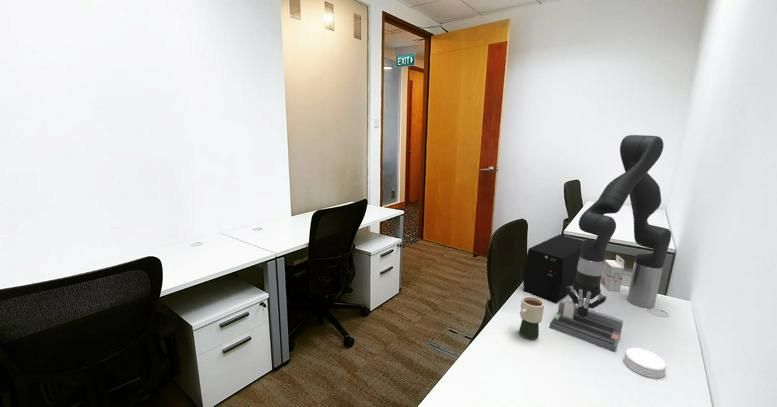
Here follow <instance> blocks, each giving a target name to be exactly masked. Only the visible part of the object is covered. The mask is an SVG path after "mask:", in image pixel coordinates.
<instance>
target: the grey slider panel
mask: <svg viewBox="0 0 777 407" xmlns="http://www.w3.org/2000/svg"><path fill="white" fill-rule="evenodd" d="M565 302H566V300H565V301H564V300H561V301H559V302H558V309H557V312H556V314H555V315H554V316H553V318H552V319H551V321H550V322H549V328H550V329H552V330H555V331H557V332H559V333H563V334H566V335H568V336H571V337H573V338H577V339H579V340H582V341H584V342H587V343H588V344H589V343H590V344H592V345H595V346H598V347H600V348H603V349H606V350H609V351H610V352H614V353H615V352H616V350H617V348H618V347H617V346H618V344H619V341H620V339H621V335H622V328H623V323H624V319H620V318H618V317H616V316H615V317H613V316H611V315H608V314H606V313H601V312H599V311H596V310H593V309H591V308H588V314H587V316H586V317H585V316H584V318H583V317H580V316H579V314H578V307H579V306H578V304H576V307H575V313H574V319H570V318H567V317H564V316H563V312H564V305H565Z"/></svg>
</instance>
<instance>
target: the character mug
mask: <svg viewBox="0 0 777 407" xmlns="http://www.w3.org/2000/svg"><path fill="white" fill-rule="evenodd" d="M544 309H545V302H544V301H543V300H542V299H541V298H539V297H537V296H531V295H530V296H528V295H526V296H522V298H521V303H520V311H519V315H520V319H521V322H520V326H519V329H518V333H519V334H520V335H521V336H522V337H524V338H527V339H531V340H536V339H538V338H539V334H540V333H539V332H540V328H539V324H540V323H541V322H543V316H544Z"/></svg>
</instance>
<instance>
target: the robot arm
mask: <svg viewBox="0 0 777 407" xmlns="http://www.w3.org/2000/svg"><path fill="white" fill-rule="evenodd" d="M619 146H620V147H619V153H620V155H619V156H620V159H621V162H622V166H623V169H624V173H622V174H620V175H619V176H617V177H615V178H614V179H612V180H611V181H610V182H609V183H608V184H607V185H606V186H605V188H604V189H603V191H602V193H600V196H599V197H598V199H597V200H596V201H595V202H594V203H593V204H592V205H591V206H590V207H588V208H587V209H586V210H585V211H584V212H583V213H582V214H581V216H580V217H579V220H578V227H579V229H580V230H581V231H583V233H587V234H591V235H595V236H596V239H585V240H583V242H582V245H581V251H580V257H579V260H578V265H577V271H576V278H575V282H574V283H573V285H571V286H567V287H566V291H567V293H568V296H569V297H570V300H571V301H573V303H575V304H576V305H577V306H579V307H578V314H579V316H580V317H583V318H584V316H585V317H586V316H587V314H588V309H590V310H593V309H596V307H599V306H600V305H602V304H604V303H605V302H606V301H607V298H608V297H607V295H604V294H603V293H602V290H601V284H602V283H601V280H602V275H603V269H604V261H605V255H606V249H607V247H608V245H609V243H610V241H611V239H612V238H613V235H614V234H615V232H616V229H617V223H616V221H615V219H614V218H613V217H612V216H609V215H608V214H617V213H618V212H619V211H620V210H621V209H622V207H623V205H624V203H625V202H626V201H627V199H628V197H629V199H630V200H629V201H630V205H631V210H632V217H633V235H634V240H635V241H634V242H635V243H636V244H637V245H639V246H641V247H644V248H647V249H651V250H653V251H652V252H651V253H638V254H636V255H635V258H634V263H633V268H632V273H631V279H630V283H629V289H628V294H627V298H626V299H627V300H626V301H628V302H630V303H631V304H632V305H635V306H637V307H640V308H644V309H645V308H646V309H652V308H654V307H655V305H656V301H657V296H658V291H659V288H660V282H661V278H662V273H663V269H664V265H665V262H666V261H665V260H666V257H667V255H668V254H667V253H668V250H669V246H670V244H671V240H672V232H671V230H670V229H669V228H666V227H663V226H662V227H661V226H658V225H653V224H649V222H648V219H649V217H651V215H653V214H654V213H655V212H656V211H657V210H658V209H659V207H660V206H661V204H662V195H661V187H660V185H659V183H657V181H656V179H654V178H653V177H652V175H650V173H648V172H649V171H650V170H651V169H652V168H653V167H654V165H655V164H656V163H657V162H658V160H659V159H660V158H661V155H662V153H663V150H664V141H663V139H662V138H661V137H660V136H656V135H645V134H644V135H642V134H629V135H626V136H624V137H623V139H622V140H621V142H620V145H619ZM576 294H577V295H576ZM577 296H578V297H577ZM596 297H597V299H596V300H594V301H593V302H592V303H591V301H592V300H593V299H594V298H596Z"/></svg>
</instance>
